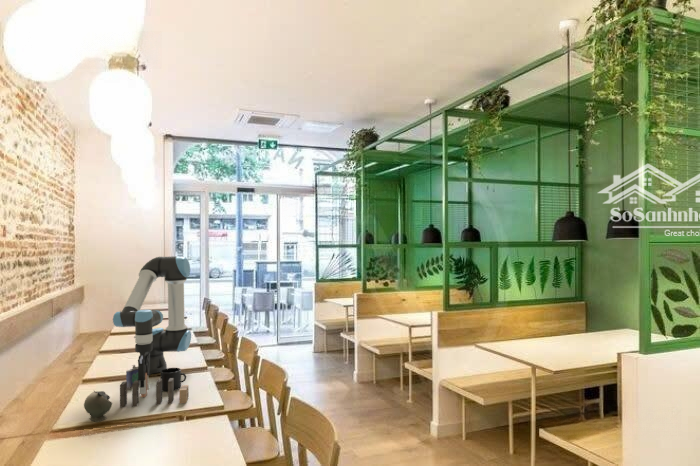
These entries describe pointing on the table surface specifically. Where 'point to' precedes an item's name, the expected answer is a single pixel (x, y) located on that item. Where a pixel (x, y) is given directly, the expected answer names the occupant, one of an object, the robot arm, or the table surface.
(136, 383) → the domino
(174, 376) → the mug
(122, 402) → the domino
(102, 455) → the table surface
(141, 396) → the domino
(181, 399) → the bookend
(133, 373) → the flask
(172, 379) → the domino
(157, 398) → the domino
